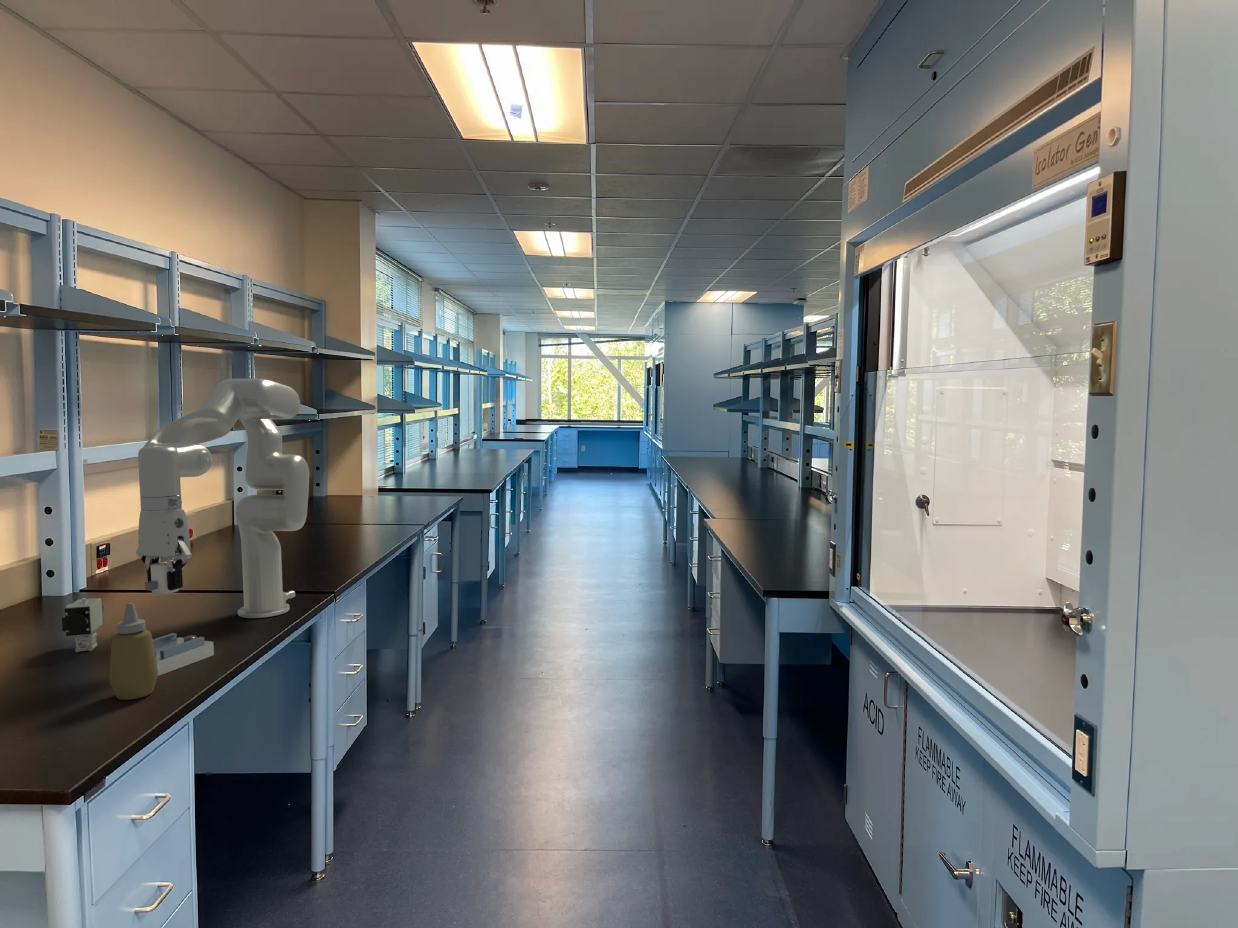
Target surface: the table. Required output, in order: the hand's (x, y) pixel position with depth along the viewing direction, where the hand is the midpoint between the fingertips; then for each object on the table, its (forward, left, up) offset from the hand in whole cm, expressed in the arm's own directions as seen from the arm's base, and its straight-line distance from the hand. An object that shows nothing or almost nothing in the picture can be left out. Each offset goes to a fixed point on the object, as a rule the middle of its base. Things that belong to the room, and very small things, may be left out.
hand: (165, 586), depth 166 cm
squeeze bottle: (+16, +10, -17) cm, 25 cm away
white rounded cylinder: (0, 0, -1) cm, 1 cm away
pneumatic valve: (0, -26, -17) cm, 31 cm away
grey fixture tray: (0, 0, -17) cm, 17 cm away
